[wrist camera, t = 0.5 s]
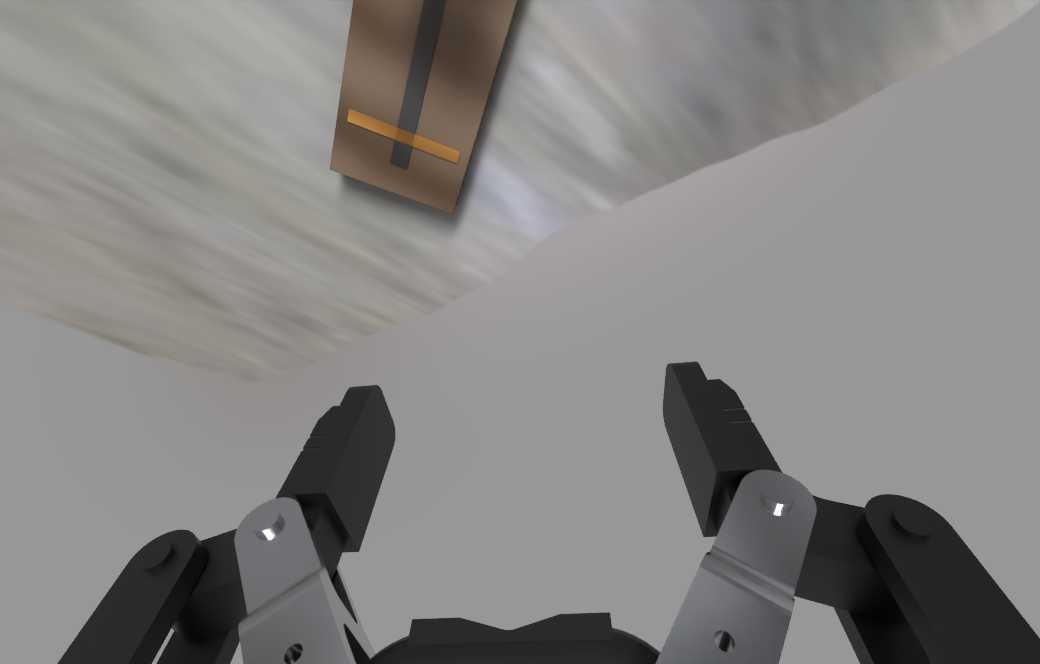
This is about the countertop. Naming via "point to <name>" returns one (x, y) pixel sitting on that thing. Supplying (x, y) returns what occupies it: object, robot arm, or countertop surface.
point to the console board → (417, 93)
